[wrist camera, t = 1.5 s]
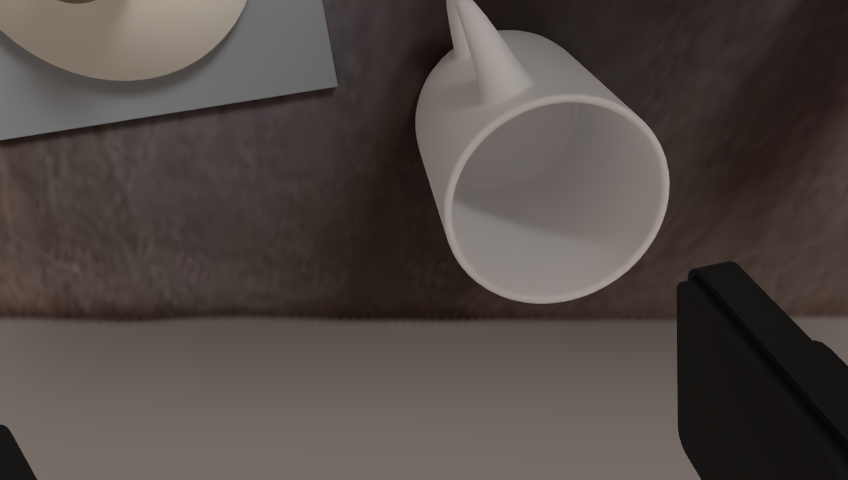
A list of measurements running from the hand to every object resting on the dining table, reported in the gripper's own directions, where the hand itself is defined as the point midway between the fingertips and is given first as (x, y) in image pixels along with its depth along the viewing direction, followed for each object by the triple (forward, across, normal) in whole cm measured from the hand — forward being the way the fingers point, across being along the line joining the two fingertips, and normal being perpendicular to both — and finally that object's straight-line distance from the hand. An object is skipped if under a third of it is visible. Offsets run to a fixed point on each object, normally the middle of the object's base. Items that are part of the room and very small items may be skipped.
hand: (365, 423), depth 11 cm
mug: (+28, -7, +5) cm, 29 cm away
